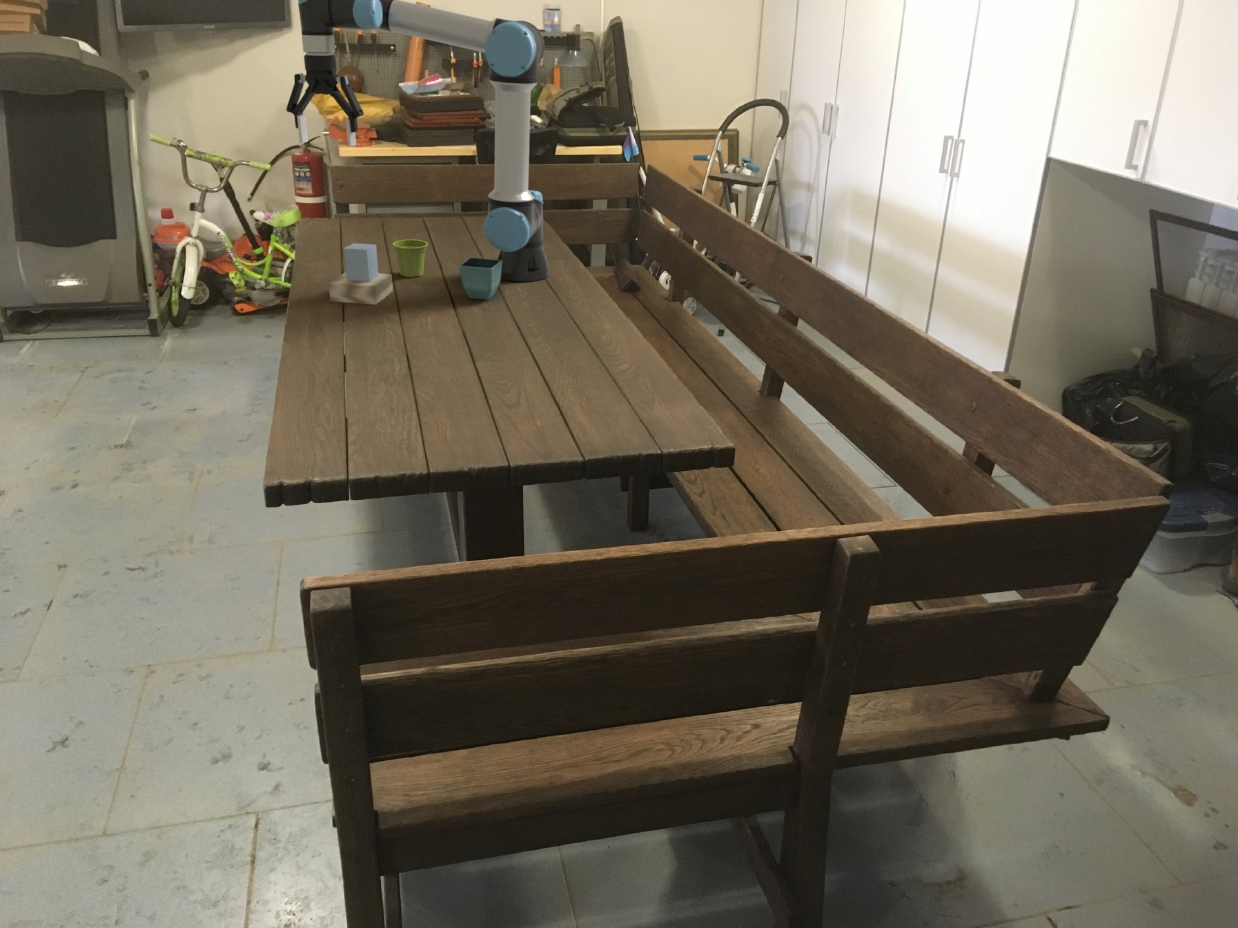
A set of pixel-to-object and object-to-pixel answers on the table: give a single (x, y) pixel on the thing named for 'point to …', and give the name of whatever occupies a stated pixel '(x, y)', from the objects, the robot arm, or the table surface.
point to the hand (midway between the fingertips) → (328, 144)
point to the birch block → (360, 289)
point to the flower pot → (480, 277)
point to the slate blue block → (361, 262)
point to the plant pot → (410, 257)
